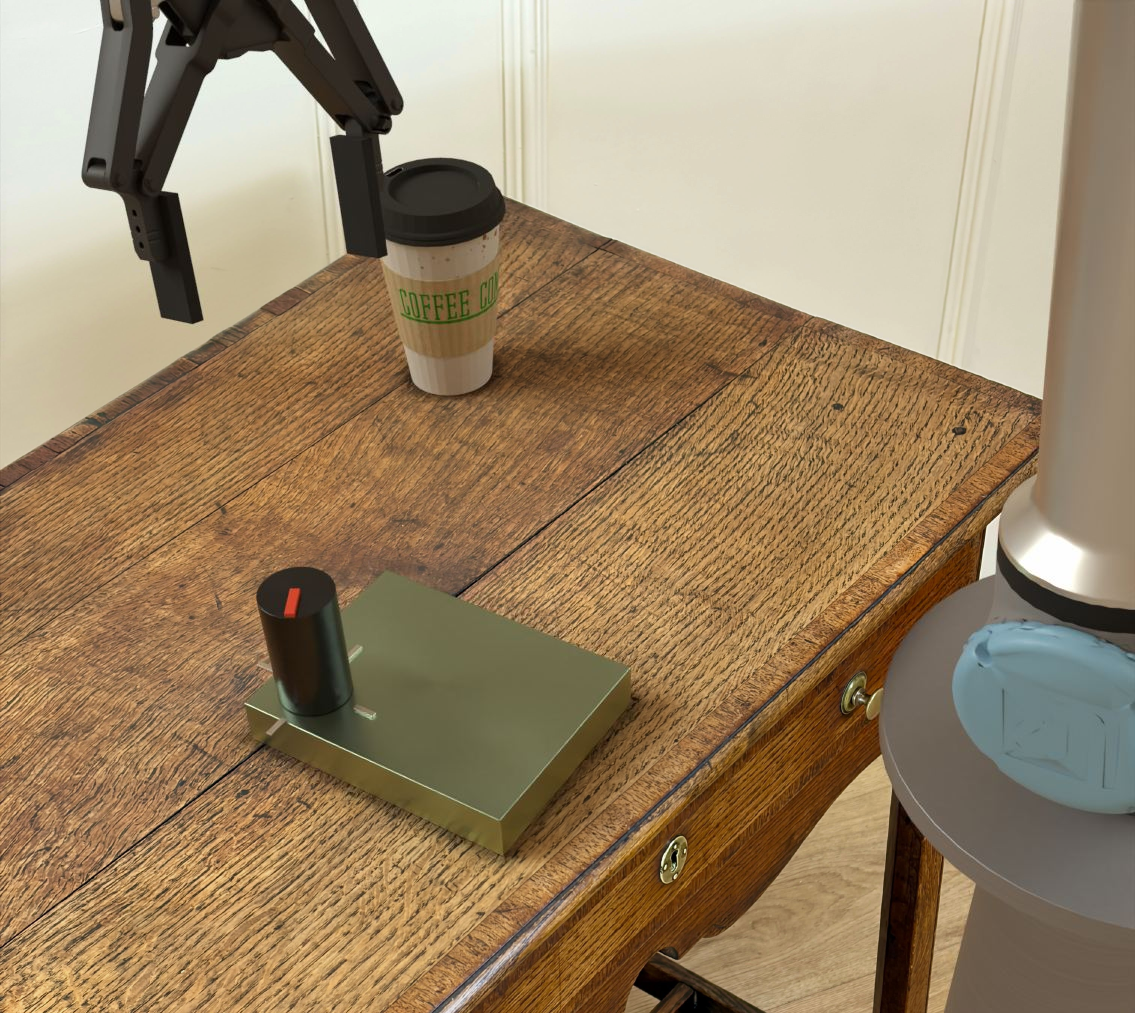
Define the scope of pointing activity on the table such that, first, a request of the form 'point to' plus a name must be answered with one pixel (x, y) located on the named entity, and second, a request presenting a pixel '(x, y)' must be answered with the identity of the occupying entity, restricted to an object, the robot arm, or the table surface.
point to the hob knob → (305, 640)
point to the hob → (452, 711)
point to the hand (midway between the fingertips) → (279, 286)
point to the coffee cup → (443, 269)
